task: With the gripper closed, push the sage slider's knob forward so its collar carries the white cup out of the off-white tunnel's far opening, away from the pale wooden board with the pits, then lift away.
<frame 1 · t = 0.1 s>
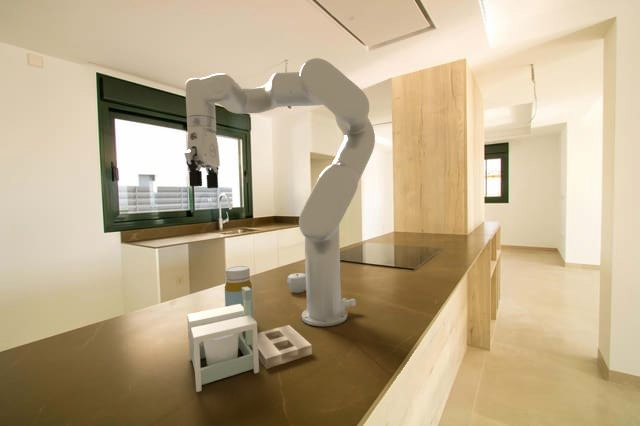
hand: (204, 187, 82), 37 cm above the counter, tool pointing down, fingers open, 9 cm apart
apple: (298, 292, 105), on the counter
tunnel: (222, 365, 58), on the counter
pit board: (279, 348, 64), on the counter
white cup: (222, 366, 58), resting in slider
slider: (223, 328, 58), point 7 cm above the counter, slide at 0.0 cm
bottle: (240, 324, 78), on the counter
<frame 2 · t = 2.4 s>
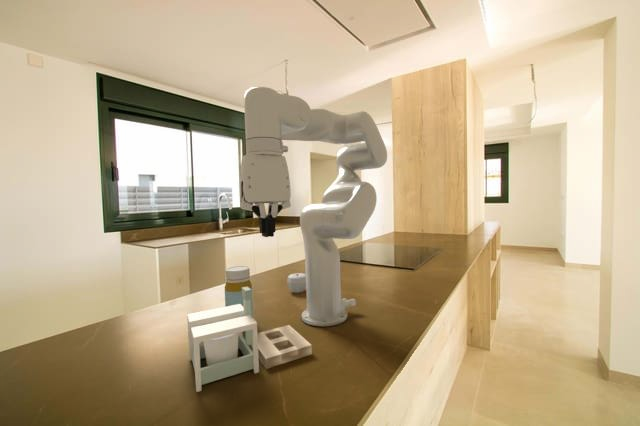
hand: (267, 236, 62), 25 cm above the counter, tool pointing down, fingers closed
nothing on the counter moved.
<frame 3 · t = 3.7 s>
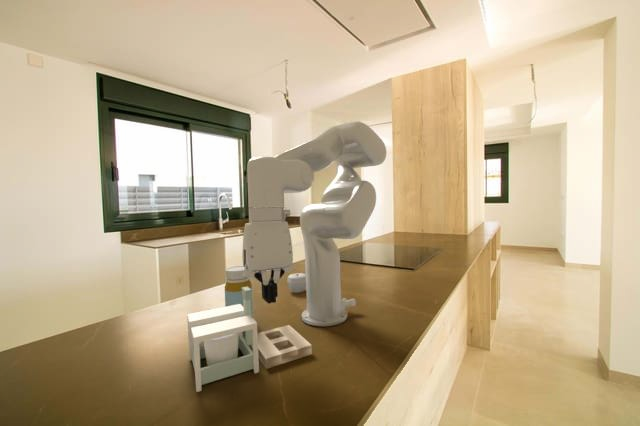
hand: (269, 301, 63), 11 cm above the counter, tool pointing down, fingers closed
nothing on the counter moved.
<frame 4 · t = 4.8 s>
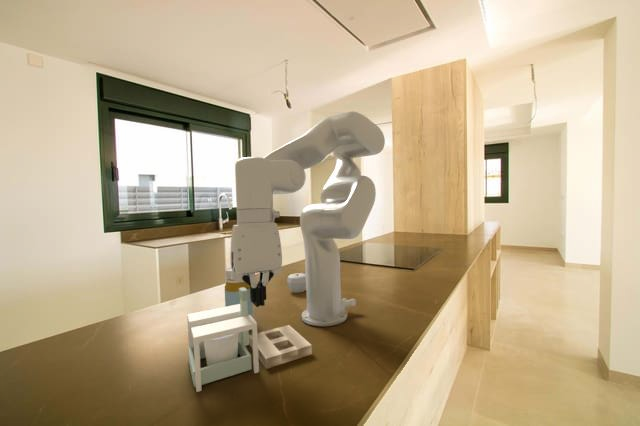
hand: (258, 304, 61), 11 cm above the counter, tool pointing down, fingers closed
slider: (219, 329, 58), point 7 cm above the counter, slide at 0.7 cm, touching gripper
everything else where it was.
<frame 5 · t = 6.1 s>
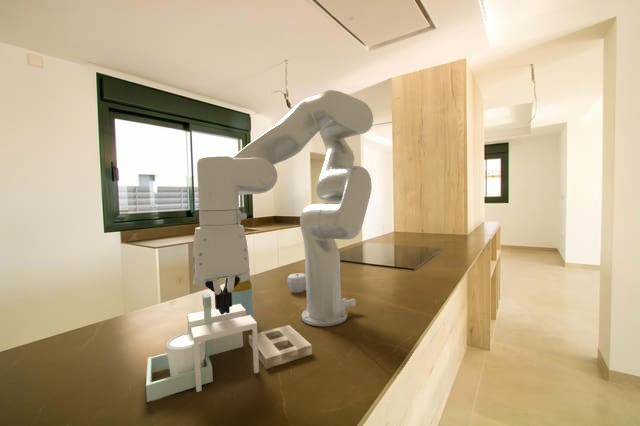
hand: (223, 311, 58), 11 cm above the counter, tool pointing down, fingers closed
white cup: (188, 377, 55), resting in slider
slider: (180, 338, 54), point 7 cm above the counter, slide at 7.8 cm, touching gripper
everything else where it was.
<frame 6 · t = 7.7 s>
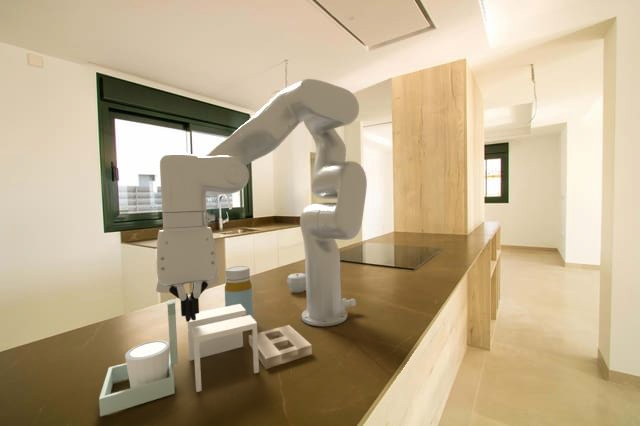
hand: (190, 318, 55), 11 cm above the counter, tool pointing down, fingers closed
white cup: (150, 388, 52), resting in slider
slider: (141, 347, 51), point 7 cm above the counter, slide at 13.9 cm, touching gripper, white cup
everything else where it was.
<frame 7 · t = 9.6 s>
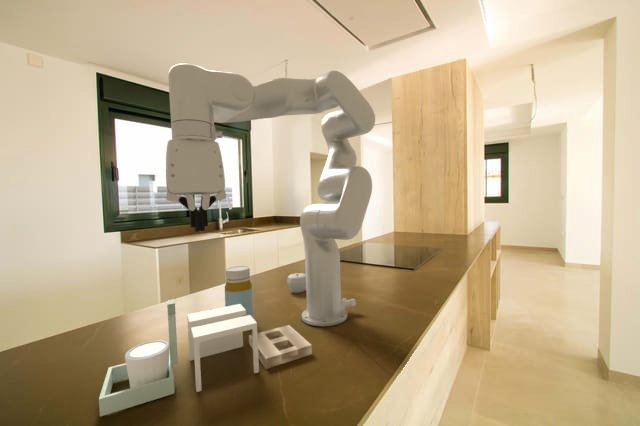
hand: (199, 230, 56), 27 cm above the counter, tool pointing down, fingers closed
slider: (141, 347, 51), point 7 cm above the counter, slide at 13.9 cm, touching white cup
everything else where it was.
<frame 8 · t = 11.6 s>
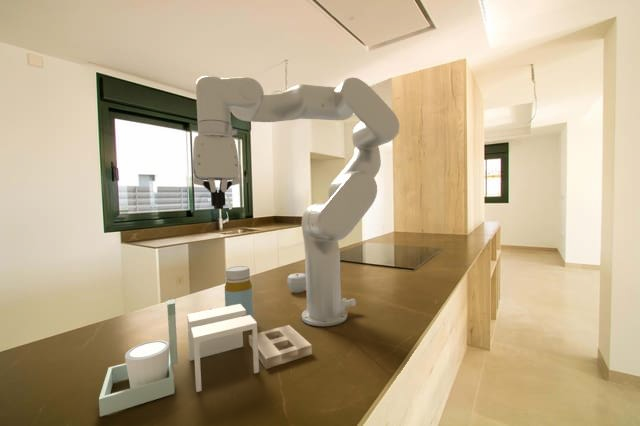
hand: (218, 208, 70), 31 cm above the counter, tool pointing down, fingers closed
nothing on the counter moved.
at the end: white cup inside the target area (2.0 cm from its centre), resting in slider; white cup tilted 0°; slider slide at 13.9 cm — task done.
